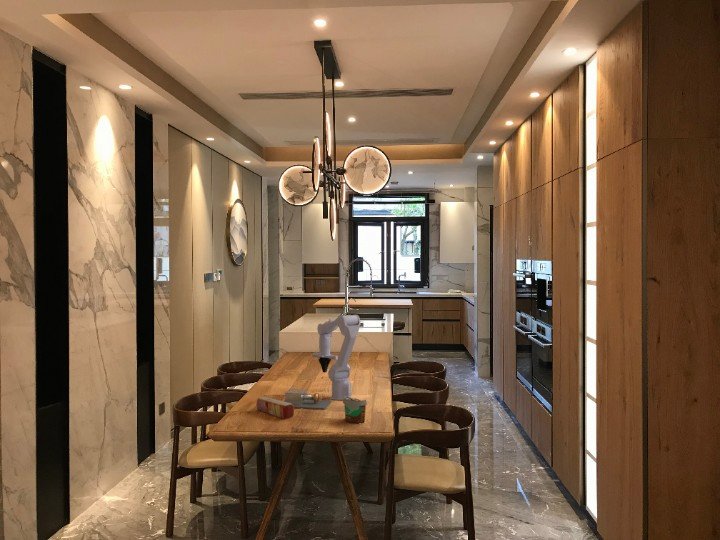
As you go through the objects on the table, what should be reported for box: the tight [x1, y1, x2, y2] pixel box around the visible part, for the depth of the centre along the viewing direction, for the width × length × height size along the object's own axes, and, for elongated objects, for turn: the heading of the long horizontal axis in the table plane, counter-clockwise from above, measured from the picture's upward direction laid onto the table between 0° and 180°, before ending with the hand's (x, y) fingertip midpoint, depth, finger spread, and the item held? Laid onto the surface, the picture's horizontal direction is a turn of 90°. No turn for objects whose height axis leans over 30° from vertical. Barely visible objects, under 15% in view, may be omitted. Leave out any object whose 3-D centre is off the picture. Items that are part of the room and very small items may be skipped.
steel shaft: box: [303, 392, 320, 403], centre depth 266 cm, size 16×4×4 cm, turn 80°
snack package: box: [256, 396, 295, 420], centre depth 251 cm, size 21×7×7 cm, turn 45°
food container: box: [342, 395, 368, 425], centre depth 239 cm, size 12×6×10 cm, turn 45°
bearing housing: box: [284, 388, 307, 405], centre depth 267 cm, size 8×8×6 cm
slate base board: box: [283, 399, 333, 411], centre depth 266 cm, size 22×14×1 cm, turn 80°
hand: (324, 372), depth 291 cm, fingers closed
